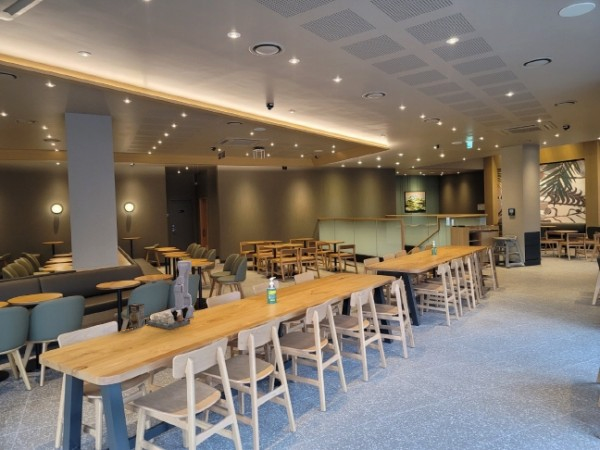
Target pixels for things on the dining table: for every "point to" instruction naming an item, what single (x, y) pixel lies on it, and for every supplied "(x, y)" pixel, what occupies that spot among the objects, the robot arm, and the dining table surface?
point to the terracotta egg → (179, 318)
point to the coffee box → (136, 315)
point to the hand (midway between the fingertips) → (179, 319)
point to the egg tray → (165, 325)
